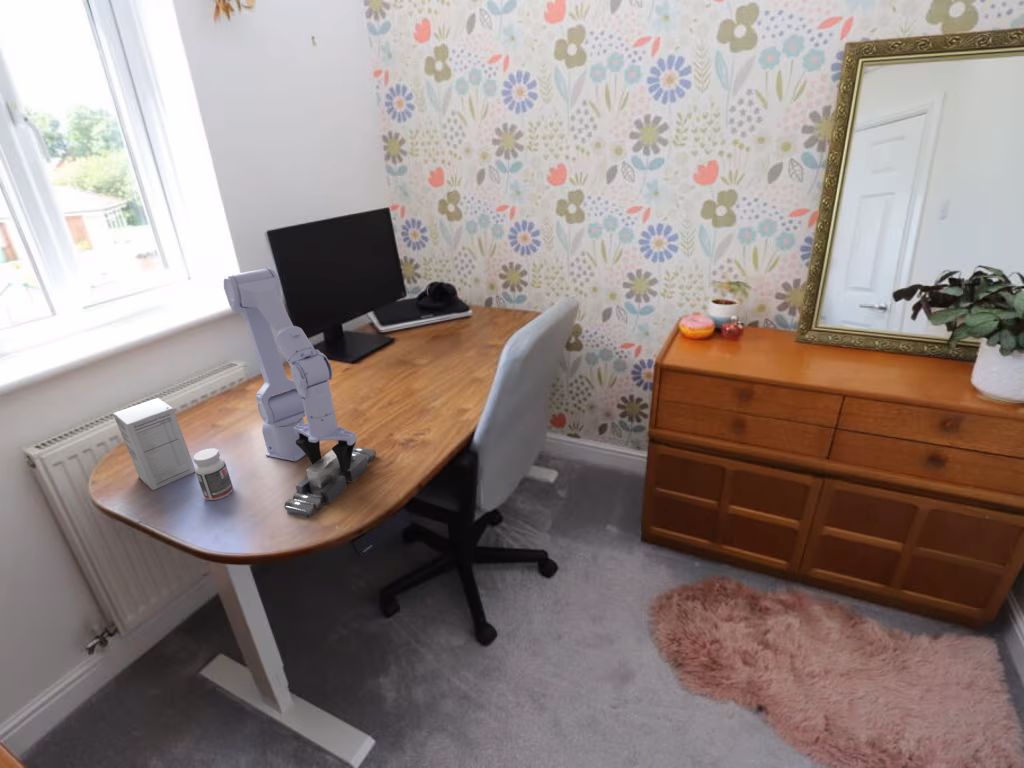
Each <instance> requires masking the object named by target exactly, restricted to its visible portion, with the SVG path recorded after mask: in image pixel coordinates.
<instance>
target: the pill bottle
mask: <svg viewBox="0 0 1024 768" xmlns="http://www.w3.org/2000/svg"><path fill="white" fill-rule="evenodd" d="M220 456H221V454H220V451H219V450H218V449H217V448H214V447H213V448H206V449H202V450H200V451H197V452H196V453H195V454H194V456H193V462H194V463H195V464H196V465H195V466H194V467H195V472H194V473H195V475H196V478H197V481H198V484H199V486H200V489H201V493H202V495H203V498H204V499H206V500H208V501H216V500H221V499H223V498H225V497H227V496H228V495H230V494H231V493H232V492H233V489H234V486H233V482H232V480H231V476H230V473H229V470H228V468H227V464H226V462H225V460H224V459H223V458H222V457H220Z"/></svg>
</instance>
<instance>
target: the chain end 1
mask: <svg viewBox="0 0 1024 768" xmlns="http://www.w3.org/2000/svg"><path fill="white" fill-rule="evenodd" d="M295 488H296V492H295V493H294V494H293V496H292V499H290V498H289V499H287V500H286V501H285V502H284V510H286V512H287V514H289V515H295V516H298V517H303V518H307V519H308V518H309V517H310V516H311V517H312V516H314V515H315V513H316V511H317V510H318V509H321V508H322V507H323V506H324V504H326V505H330V504H331V503H333V502H334V501H335V500H337V498H338V497H339V496H340V495H342V494H343V492H344V491H346V489H348V486H347V481H346V479H345V476H341V475H338V476H336V477H335V478H334V479H333V480H332V481H331V482H330V483H329V484H327V485H326V486H325V487H324V488H323V489H322V490H321V491H320V493H321V494H319V493H315V492H311V488H310V484H309V480H308V476H305V477H304V478H303V479H302V480H300V481H299V482H297V484H295Z"/></svg>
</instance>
